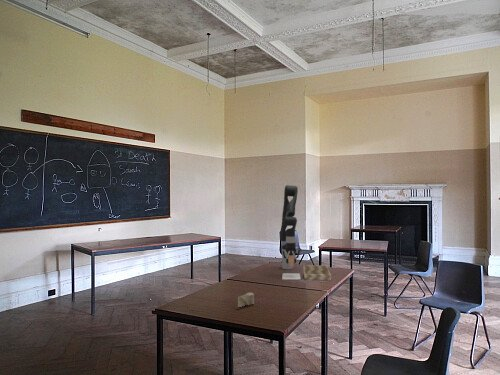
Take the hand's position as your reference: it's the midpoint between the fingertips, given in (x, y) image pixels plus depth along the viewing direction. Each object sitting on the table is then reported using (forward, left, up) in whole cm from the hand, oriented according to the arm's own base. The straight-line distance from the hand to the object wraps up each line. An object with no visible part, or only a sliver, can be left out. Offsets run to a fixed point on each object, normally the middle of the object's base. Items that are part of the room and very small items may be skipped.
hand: (291, 263), depth 290 cm
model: (-27, -79, -11) cm, 84 cm away
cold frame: (+20, 0, -11) cm, 23 cm away
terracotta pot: (0, 0, -1) cm, 1 cm away
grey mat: (0, 0, -11) cm, 11 cm away
